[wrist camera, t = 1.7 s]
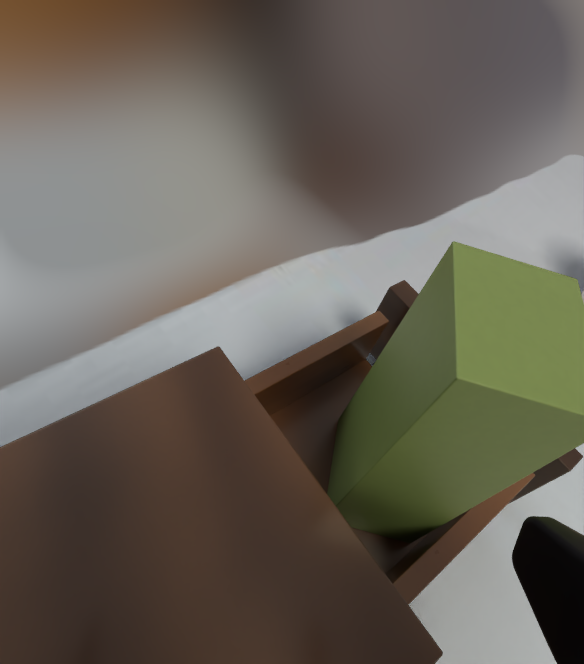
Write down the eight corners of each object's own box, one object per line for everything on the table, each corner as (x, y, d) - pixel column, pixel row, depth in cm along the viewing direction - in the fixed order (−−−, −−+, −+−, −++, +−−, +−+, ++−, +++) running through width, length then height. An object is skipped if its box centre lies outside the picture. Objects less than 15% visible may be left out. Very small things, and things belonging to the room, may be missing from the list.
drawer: (386, 325, 29) (419, 272, 26) (531, 479, 25) (596, 442, 21) (171, 444, 22) (172, 393, 18) (323, 691, 18) (365, 692, 14)
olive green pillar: (410, 543, 20) (616, 424, 11) (323, 519, 20) (457, 378, 11) (414, 440, 24) (578, 278, 14) (338, 418, 23) (453, 240, 14)
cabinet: (207, 419, 24) (219, 344, 19) (369, 661, 19) (445, 653, 14) (-149, 613, 17) (-293, 581, 12) (-33, 1081, 12) (-190, 1392, 7)
